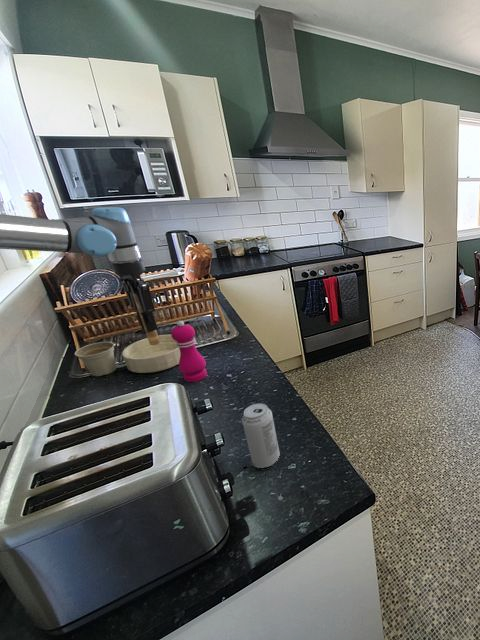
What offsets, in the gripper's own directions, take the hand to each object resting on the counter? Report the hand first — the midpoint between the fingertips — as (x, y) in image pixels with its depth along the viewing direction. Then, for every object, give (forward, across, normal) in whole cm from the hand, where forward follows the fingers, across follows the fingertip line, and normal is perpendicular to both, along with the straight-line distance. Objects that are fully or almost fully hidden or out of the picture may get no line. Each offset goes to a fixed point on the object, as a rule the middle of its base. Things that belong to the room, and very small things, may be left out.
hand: (150, 329), depth 115 cm
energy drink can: (+13, -69, +10) cm, 71 cm away
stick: (+6, 0, 0) cm, 6 cm away
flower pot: (+12, +8, +13) cm, 20 cm away
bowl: (+12, 0, 0) cm, 12 cm away
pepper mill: (+13, -20, -1) cm, 24 cm away
